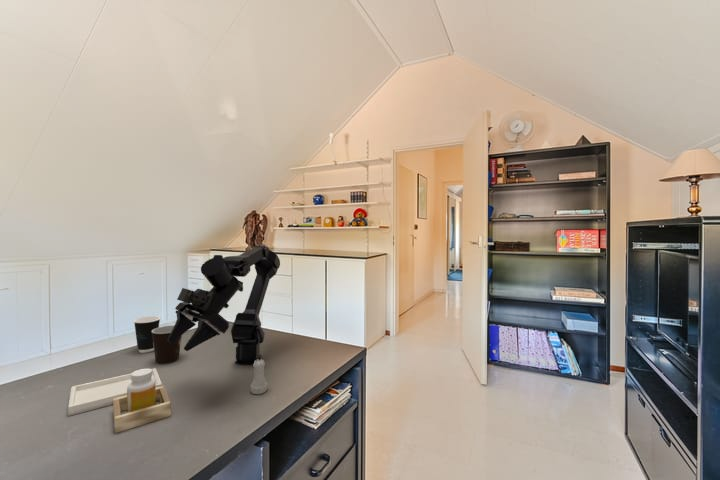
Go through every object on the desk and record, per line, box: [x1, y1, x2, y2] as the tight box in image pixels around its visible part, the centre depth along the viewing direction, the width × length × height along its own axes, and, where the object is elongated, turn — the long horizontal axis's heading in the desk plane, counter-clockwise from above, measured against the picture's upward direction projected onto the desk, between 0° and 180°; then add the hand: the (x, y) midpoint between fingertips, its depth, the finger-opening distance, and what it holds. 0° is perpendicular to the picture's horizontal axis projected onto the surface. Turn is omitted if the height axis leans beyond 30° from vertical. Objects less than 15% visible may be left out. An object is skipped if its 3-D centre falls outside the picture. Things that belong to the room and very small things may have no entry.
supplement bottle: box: [126, 368, 157, 413], centre depth 72 cm, size 5×5×10 cm
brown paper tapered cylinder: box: [152, 324, 183, 365], centre depth 103 cm, size 12×9×10 cm
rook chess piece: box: [249, 358, 268, 395], centre depth 84 cm, size 4×4×8 cm
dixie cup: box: [132, 315, 161, 354], centre depth 110 cm, size 8×8×11 cm
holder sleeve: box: [112, 385, 172, 434], centre depth 72 cm, size 10×10×3 cm
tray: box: [67, 367, 163, 417], centre depth 81 cm, size 18×12×2 cm, turn 130°
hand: (176, 345), depth 78 cm, fingers open, 9 cm apart
